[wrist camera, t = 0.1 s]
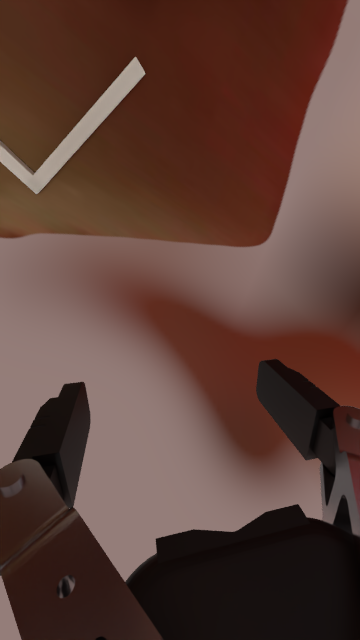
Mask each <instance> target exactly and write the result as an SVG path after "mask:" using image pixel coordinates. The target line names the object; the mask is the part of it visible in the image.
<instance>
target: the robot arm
mask: <svg viewBox="0 0 360 640" xmlns="http://www.w3.org/2000/svg"><path fill="white" fill-rule="evenodd" d="M256 391H257V396H258V399H259V401H260V402H261V404H262V405H263V406H264V407H265V409H266V410H267V411H268V413H269V414H270V415H271V416H272V417H273V419H274V420H275V422H276V423H277V424H278V425H279V427H280V428H281V429H282V430H283V432H284V433H285V434H286V435H287V437H288V438H289V439H290V441H291V442H292V443H293V444H294V446H295V447H296V448H297V450H299V452H300V453H301V455H302V456H303V457H304V459H305V460H310V459H315V458H319V459H320V461H321V465H320V480H321V496H322V511H323V520H318V519H313V518H307V517H306V516H305V514H304V513H303V511H302V509H301V508H300V506H299V505H298V504H297V505H293V506H289V507H284V508H280V509H276V510H272V511H268V512H265V513H264V514H262V515H261V516H259V517H258V518H256V519H255V520H253V521H252V522H250V523H248V524H247V525H245V526H244V527H242V528H241V529H239V530H238V531H235V532H224V531H208V530H190V531H186V532H182V533H178V534H173V535H169V536H165V537H161V538H157V539H156V547H157V553H156V554H155V555H153V556H152V557H150V558H149V559H147V560H146V561H145V562H144V563H142V564H141V565H140V566H139V567H138V568H137V569H136V570H135V571H134V572H133V573H132V574H131V575H130V577H129V578H128V579H127V580H126V582H124V580H123V579H122V577H121V576H120V574H119V573H118V571H117V570H116V568H115V567H114V566H113V564H112V562H111V561H110V560H109V558H108V557H107V555H106V553H105V552H104V550H103V549H102V547H101V546H100V544H99V543H98V542H97V540H96V539H95V537H94V536H93V534H92V533H91V531H90V530H89V528H88V527H87V525H86V524H85V522H84V521H83V519H82V518H81V516H80V515H79V513H78V512H77V511H76V509H75V508H73V505H74V500H75V496H76V491H77V486H78V481H79V476H80V471H81V467H82V462H83V457H84V453H85V448H86V443H87V438H88V433H89V429H90V410H89V404H88V398H87V393H86V387H85V383H84V382H78V383H70V384H64V386H63V388H62V390H61V392H60V394H59V397H57V398H50V399H49V400H48V401H47V402H46V403H45V404H44V405H43V406H42V407H40V410H39V411H38V413H37V415H36V417H35V420H34V421H33V423H32V425H31V428H30V429H29V430H28V432H27V434H26V436H25V438H24V440H23V442H22V444H21V446H20V448H19V450H18V452H17V454H16V455H15V457H14V460H13V461H12V463H10V464H8V465H6V466H4V467H3V468H1V469H0V576H2V579H3V582H4V585H5V589H6V592H7V595H8V598H9V601H10V604H11V607H12V610H13V613H14V617H15V620H16V623H17V626H18V629H19V633H20V636H21V639H22V640H360V409H358V408H355V407H351V406H340V405H339V404H338V403H336V402H335V401H334V400H333V399H331V398H330V397H329V396H328V395H326V394H325V393H324V392H323V391H321V390H320V389H319V388H318V387H315V385H314V384H313V383H311V382H310V381H308V379H307V378H305V377H304V376H303V375H302V374H300V373H299V372H296V371H294V370H292V369H290V368H287V367H286V366H285V365H284V364H283V363H281V362H280V361H279V360H277V359H273V360H265V361H261V362H260V363H259V368H258V379H257V387H256ZM69 508H70V509H69Z"/></svg>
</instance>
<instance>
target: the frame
mask: <svg viewBox="0 0 360 640" xmlns="http://www.w3.org/2000/svg"><path fill="white" fill-rule="evenodd" d="M145 74H146V73H145V72H144V70H143V68H142V66H141V65H140V63H139V61H138V60H137V58H136V57H135V58H134V59H133V60H132V61H131V62H130V64H129V65H128V66H127V67H126V68H125V69H124V71H123V72H122V73H121V74H120V75H119V76H118V78H117V79H116V80H115V81H114V82H113V83H112V84H111V86H110V87H109V88H108V89H107V90H106V91H105V93H104V94H103V95H102V96H101V97H100V98H99V100H98V101H97V102H96V103H95V104H94V105H93V107H92V108H91V109H90V110H89V111H88V112H87V113H86V115H85V116H84V117H83V118H82V119H81V120H80V122H79V123H78V124H77V125H76V126H75V127H74V129H73V130H72V131H71V132H70V133H69V134H68V136H67V137H66V138H65V139H64V140H63V141H62V142H61V144H60V145H59V146H58V147H57V148H56V149H55V151H54V152H53V153H52V154H51V155H50V156H49V158H48V159H47V160H46V161H45V162H44V163H43V165H42V166H41V167H40V168H39V169H38V170H37V171H36V173H34V172H33V171H32V170H31V169H30V168H29V167H28V166H27V165H26V164H25V163H24V162H23V161H22V160H20V159H19V158H18V157H17V156H16V155H15V154H14V153H13V152H12V151H11V150H10V149H9V148H8V147H7V146H6V145H5V144H4V143H3V142H2V141H1V140H0V162H1V163H2V164H3V165H4V166H6V167H7V168H8V169H9V170H10V171H11V172H12V173H13V174H14V175H16V176H17V177H18V178H19V179H20V180H21V181H22V182H23V183H24V184H26V185H27V186H28V187H29V188H30V189H31V190H32V191H33V192H35V193H36V194H38V193H39V192H40V191H41V190H42V189H43V188H44V187H45V185H46V184H47V183H48V182H49V181H50V180H51V179H52V178H53V177H54V175H55V174H56V173H57V172H58V171H59V170H60V169H61V168H62V167H63V165H64V164H65V163H66V162H67V161H68V160H69V159H70V158H71V156H72V155H73V154H74V153H75V152H76V151H77V150H78V149H79V148H80V146H81V145H82V144H83V143H84V142H85V141H86V140H87V139H88V138H89V136H90V135H91V134H92V133H93V132H94V131H95V130H96V129H97V127H98V126H99V125H100V124H101V123H102V122H103V121H104V120H105V119H106V117H107V116H108V115H109V114H110V113H111V112H112V111H113V110H114V109H115V107H116V106H117V105H118V104H119V103H120V102H121V101H122V100H123V98H124V97H125V96H126V95H127V94H128V93H129V92H130V91H131V90H132V88H133V87H134V86H135V85H136V84H137V83H138V82H139V81H140V80H141V78H142V77H143V76H144V75H145Z"/></svg>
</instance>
